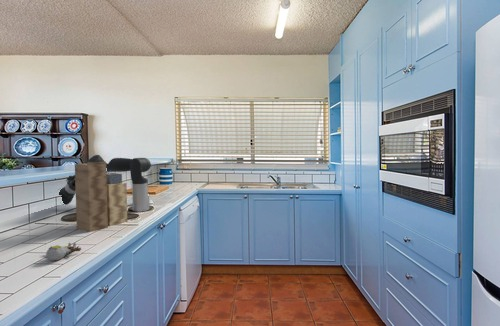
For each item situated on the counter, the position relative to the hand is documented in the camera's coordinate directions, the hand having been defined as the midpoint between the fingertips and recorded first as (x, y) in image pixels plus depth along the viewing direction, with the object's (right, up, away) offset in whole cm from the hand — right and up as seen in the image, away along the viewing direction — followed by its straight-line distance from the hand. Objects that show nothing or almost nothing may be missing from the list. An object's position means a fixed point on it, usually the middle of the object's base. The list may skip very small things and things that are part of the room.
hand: (86, 172), depth 173 cm
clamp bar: (+14, -5, -8) cm, 17 cm away
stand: (+14, -27, -21) cm, 37 cm away
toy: (+23, -30, -59) cm, 69 cm away
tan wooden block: (+19, -26, -10) cm, 34 cm away
